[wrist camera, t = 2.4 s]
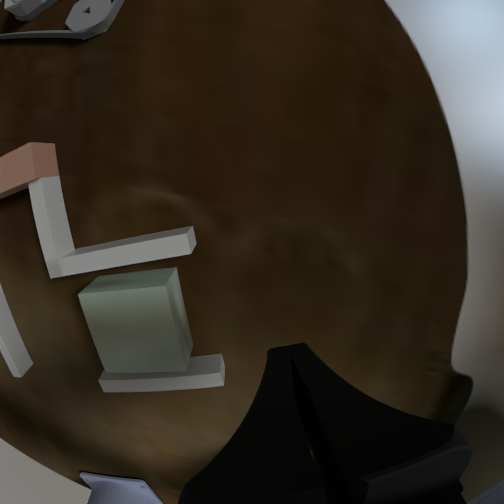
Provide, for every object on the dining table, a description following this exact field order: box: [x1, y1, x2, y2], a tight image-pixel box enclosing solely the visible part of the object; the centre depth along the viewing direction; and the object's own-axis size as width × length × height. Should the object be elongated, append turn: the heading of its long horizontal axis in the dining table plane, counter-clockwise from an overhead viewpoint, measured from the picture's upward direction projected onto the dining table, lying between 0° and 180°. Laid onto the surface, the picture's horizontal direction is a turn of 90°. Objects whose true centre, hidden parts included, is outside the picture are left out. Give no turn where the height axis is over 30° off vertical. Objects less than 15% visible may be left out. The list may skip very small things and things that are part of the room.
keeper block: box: [78, 267, 193, 373], centre depth 16 cm, size 5×5×3 cm
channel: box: [0, 176, 225, 392], centre depth 16 cm, size 14×16×2 cm
